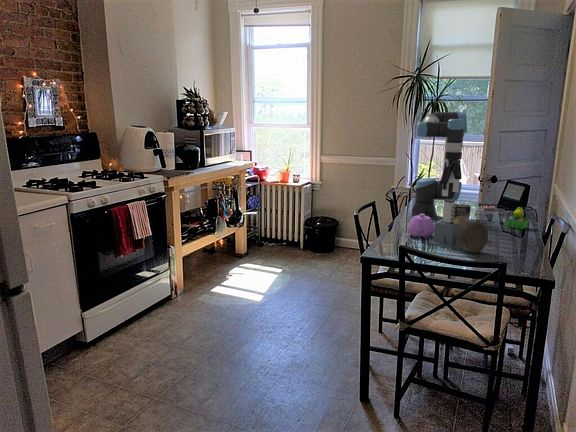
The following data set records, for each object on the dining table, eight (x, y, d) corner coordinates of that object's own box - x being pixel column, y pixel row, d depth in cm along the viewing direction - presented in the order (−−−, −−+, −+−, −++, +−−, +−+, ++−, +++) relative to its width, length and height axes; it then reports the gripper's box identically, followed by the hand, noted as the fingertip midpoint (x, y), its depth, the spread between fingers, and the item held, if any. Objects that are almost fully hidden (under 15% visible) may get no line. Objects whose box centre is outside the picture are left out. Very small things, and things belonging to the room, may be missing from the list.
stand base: (428, 244, 234) (430, 219, 230) (441, 237, 245) (442, 213, 242) (451, 248, 226) (453, 223, 223) (463, 241, 238) (465, 217, 234)
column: (440, 240, 235) (444, 200, 230) (443, 238, 238) (447, 198, 233) (450, 241, 232) (453, 201, 227) (453, 240, 235) (456, 200, 230)
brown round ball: (492, 256, 215) (496, 225, 212) (463, 257, 214) (466, 226, 211) (478, 246, 229) (481, 217, 225) (450, 247, 228) (453, 218, 224)
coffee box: (449, 234, 249) (452, 206, 245) (450, 231, 255) (452, 203, 251) (468, 236, 246) (470, 207, 242) (467, 233, 252) (470, 204, 248)
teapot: (432, 242, 235) (434, 220, 232) (404, 240, 240) (405, 217, 237) (435, 232, 254) (437, 211, 250) (409, 230, 259) (410, 209, 256)
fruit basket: (503, 226, 264) (505, 207, 262) (508, 223, 271) (510, 205, 268) (524, 230, 257) (527, 210, 254) (529, 227, 263) (532, 208, 260)
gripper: (451, 153, 212) (447, 198, 217) (470, 149, 231) (466, 191, 236) (435, 152, 217) (432, 196, 222) (456, 148, 235) (452, 189, 241)
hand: (450, 194), depth 229 cm, fingers open, 13 cm apart
